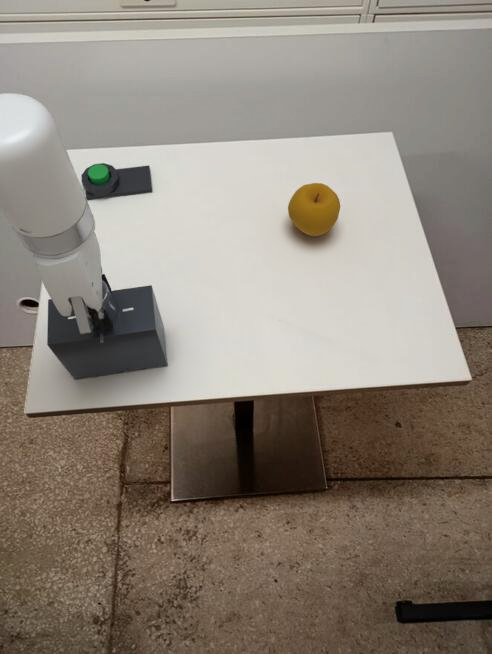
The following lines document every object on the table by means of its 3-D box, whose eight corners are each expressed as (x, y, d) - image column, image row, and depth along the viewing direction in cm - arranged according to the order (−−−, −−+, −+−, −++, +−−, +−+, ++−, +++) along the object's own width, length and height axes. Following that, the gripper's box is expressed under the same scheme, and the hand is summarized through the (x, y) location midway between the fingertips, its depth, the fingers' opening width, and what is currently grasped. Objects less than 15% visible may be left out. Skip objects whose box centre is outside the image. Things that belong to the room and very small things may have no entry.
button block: (85, 201, 92) (81, 191, 89) (85, 175, 95) (81, 165, 92) (152, 193, 93) (150, 183, 90) (149, 167, 96) (147, 157, 93)
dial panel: (74, 385, 75) (46, 350, 64) (74, 334, 79) (47, 293, 68) (168, 370, 76) (156, 334, 65) (163, 321, 80) (150, 279, 69)
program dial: (119, 325, 66) (108, 302, 61) (85, 331, 65) (71, 308, 60) (116, 297, 68) (105, 272, 63) (83, 302, 67) (70, 278, 62)
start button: (90, 186, 90) (87, 180, 89) (89, 171, 92) (87, 165, 91) (110, 183, 91) (108, 177, 89) (109, 169, 92) (107, 163, 91)
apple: (279, 237, 88) (282, 202, 80) (297, 203, 92) (301, 167, 84) (324, 253, 86) (333, 219, 78) (341, 218, 90) (350, 183, 82)
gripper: (18, 163, 53) (71, 262, 70) (10, 296, 46) (72, 374, 62) (89, 154, 54) (125, 255, 70) (93, 285, 46) (133, 364, 62)
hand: (100, 310), depth 66 cm, fingers open, 4 cm apart
